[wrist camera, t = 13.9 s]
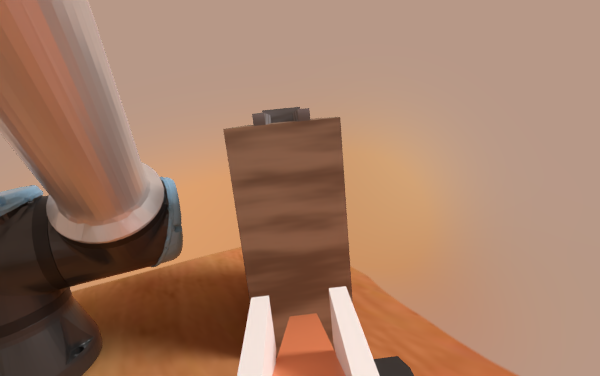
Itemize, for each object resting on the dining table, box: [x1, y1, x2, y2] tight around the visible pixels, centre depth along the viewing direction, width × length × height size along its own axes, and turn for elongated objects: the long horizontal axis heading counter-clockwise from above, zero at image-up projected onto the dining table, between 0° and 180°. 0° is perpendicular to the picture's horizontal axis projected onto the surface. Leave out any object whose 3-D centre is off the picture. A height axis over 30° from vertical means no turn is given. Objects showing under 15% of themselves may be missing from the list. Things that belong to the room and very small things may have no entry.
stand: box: [224, 107, 353, 358], centre depth 42 cm, size 18×12×30 cm, turn 3°
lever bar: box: [272, 313, 346, 376], centre depth 16 cm, size 26×3×3 cm
